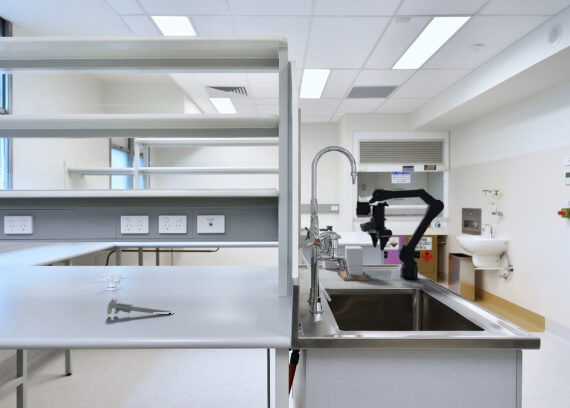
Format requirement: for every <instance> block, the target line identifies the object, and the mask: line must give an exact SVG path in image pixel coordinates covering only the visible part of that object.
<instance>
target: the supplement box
mask: <svg viewBox="0 0 570 408" xmlns="http://www.w3.org/2000/svg"><path fill="white" fill-rule="evenodd" d="M363 256H364V249H363V247H361V246H360V245H345V246H344V259H345V258H346V260H347V262H348V264H349V271H350V275H363V272H364V259H363V258H364V257H363Z"/></svg>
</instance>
